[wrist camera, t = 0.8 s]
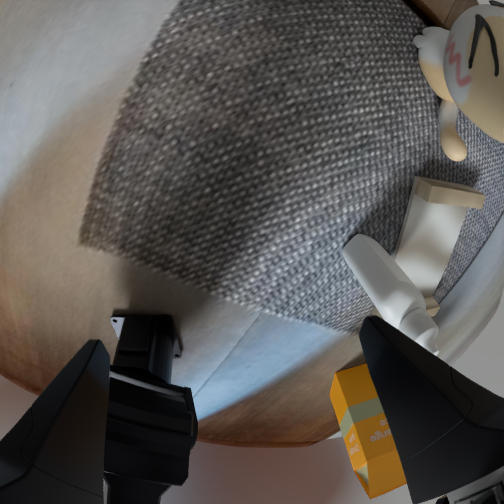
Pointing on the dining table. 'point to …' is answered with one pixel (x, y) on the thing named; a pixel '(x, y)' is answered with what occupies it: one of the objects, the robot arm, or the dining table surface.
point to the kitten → (467, 73)
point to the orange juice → (366, 431)
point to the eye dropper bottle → (391, 290)
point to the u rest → (432, 232)
